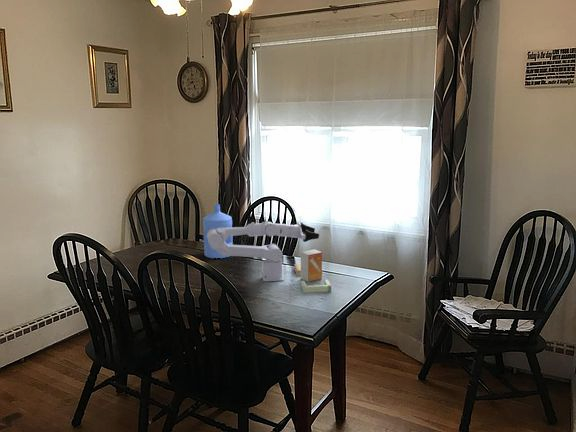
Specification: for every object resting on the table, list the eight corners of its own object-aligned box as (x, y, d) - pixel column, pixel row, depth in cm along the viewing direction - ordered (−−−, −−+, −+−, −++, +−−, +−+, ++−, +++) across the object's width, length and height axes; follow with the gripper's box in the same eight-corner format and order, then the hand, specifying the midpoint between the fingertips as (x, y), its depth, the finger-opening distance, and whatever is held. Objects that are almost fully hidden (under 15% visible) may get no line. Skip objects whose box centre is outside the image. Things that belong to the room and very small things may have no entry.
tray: (303, 292, 211) (303, 287, 210) (301, 286, 219) (301, 280, 218) (331, 291, 212) (331, 285, 212) (327, 285, 220) (327, 279, 219)
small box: (308, 282, 224) (308, 254, 221) (300, 278, 229) (300, 251, 226) (322, 278, 228) (322, 252, 226) (314, 275, 233) (314, 248, 231)
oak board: (297, 276, 233) (297, 270, 232) (294, 270, 243) (294, 264, 242) (322, 275, 234) (322, 269, 234) (318, 269, 244) (318, 263, 243)
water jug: (205, 251, 275) (202, 202, 269) (233, 250, 277) (231, 201, 271) (203, 259, 260) (201, 207, 254) (233, 258, 262) (231, 207, 256)
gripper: (293, 227, 218) (322, 230, 222) (286, 217, 232) (314, 220, 235) (290, 242, 220) (319, 245, 224) (284, 231, 234) (311, 233, 237)
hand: (316, 233), depth 229 cm, fingers open, 7 cm apart
